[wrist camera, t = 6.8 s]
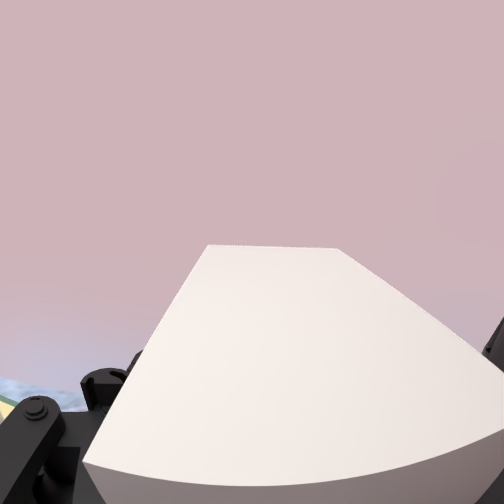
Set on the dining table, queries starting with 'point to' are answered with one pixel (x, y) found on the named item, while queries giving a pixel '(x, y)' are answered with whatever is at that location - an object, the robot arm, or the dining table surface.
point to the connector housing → (299, 393)
